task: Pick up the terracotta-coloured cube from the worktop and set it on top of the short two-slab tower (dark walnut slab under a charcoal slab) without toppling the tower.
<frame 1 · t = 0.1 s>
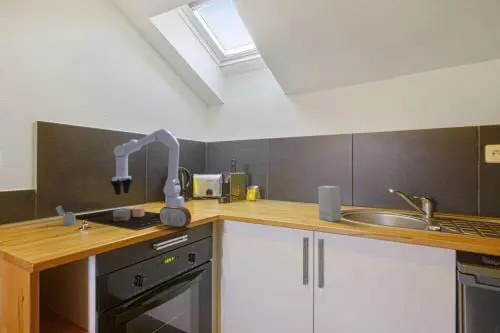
hand: (122, 193, 146), 10 cm above the countertop, tool pointing down, fingers open, 7 cm apart
tin: (174, 227, 113), on the countertop
skincare box: (329, 220, 126), on the countertop
terracotta cube: (138, 216, 136), on the countertop
lighter: (65, 224, 117), on the countertop
walnut slab: (122, 220, 126), on the countertop, touching charcoal slab
charcoal slab: (121, 215, 126), point 2 cm above the countertop, touching walnut slab
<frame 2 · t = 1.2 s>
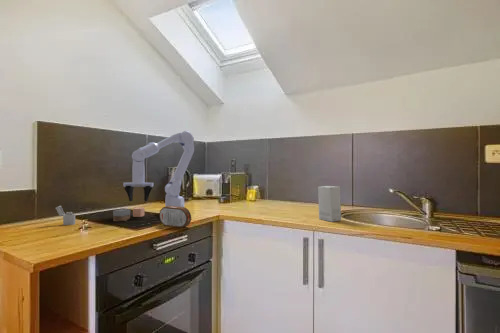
hand: (138, 201, 136), 7 cm above the countertop, tool pointing down, fingers open, 7 cm apart
walnut slab: (121, 220, 126), on the countertop
charcoal slab: (121, 215, 126), point 2 cm above the countertop
everything else where it was.
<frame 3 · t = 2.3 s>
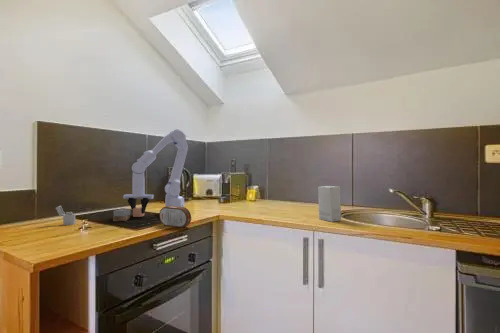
hand: (138, 213, 136), 1 cm above the countertop, tool pointing down, fingers closed on terracotta cube, 4 cm apart
terracotta cube: (138, 215, 136), on the countertop, touching gripper
walnut slab: (121, 220, 126), on the countertop, touching charcoal slab
charcoal slab: (122, 215, 126), point 2 cm above the countertop, touching walnut slab
everything else where it was.
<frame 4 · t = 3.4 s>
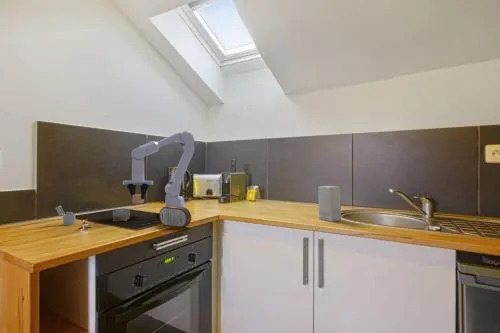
hand: (138, 199, 136), 8 cm above the countertop, tool pointing down, fingers closed on terracotta cube, 4 cm apart
terracotta cube: (138, 202, 136), point 7 cm above the countertop, touching gripper
walnut slab: (121, 220, 126), on the countertop
charcoal slab: (121, 215, 126), point 2 cm above the countertop
everything else where it was.
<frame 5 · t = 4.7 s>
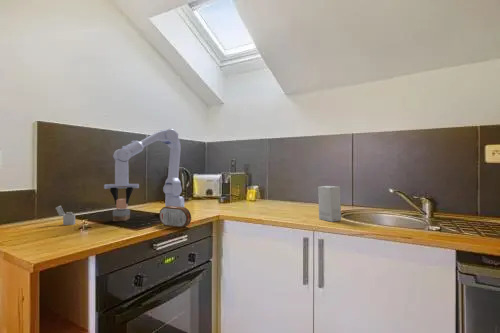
hand: (122, 203, 126), 7 cm above the countertop, tool pointing down, fingers closed on terracotta cube, 4 cm apart
terracotta cube: (122, 208, 126), point 5 cm above the countertop, touching gripper
everything else where it was.
when the fingers open (7 cm above the countertop, at t = 4.8 s): terracotta cube stays where it is, point 5 cm above the countertop.
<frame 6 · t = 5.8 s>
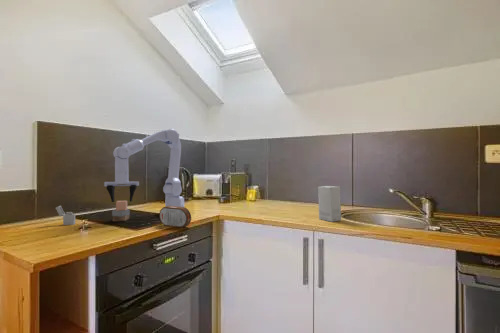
hand: (122, 201, 126), 9 cm above the countertop, tool pointing down, fingers open, 7 cm apart
terracotta cube: (121, 209, 126), point 5 cm above the countertop
walnut slab: (121, 220, 126), on the countertop, touching charcoal slab
charcoal slab: (121, 215, 126), point 2 cm above the countertop, touching walnut slab
everything else where it was.
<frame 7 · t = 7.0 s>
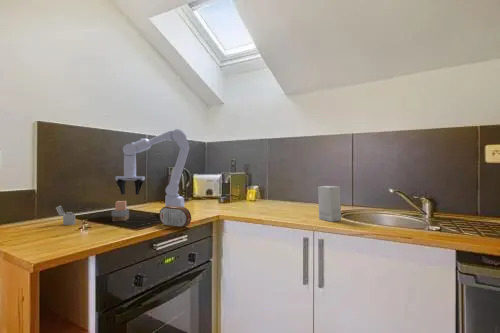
hand: (130, 194, 139), 10 cm above the countertop, tool pointing down, fingers open, 7 cm apart
terracotta cube: (121, 210, 126), point 5 cm above the countertop, touching charcoal slab
charcoal slab: (120, 215, 126), point 2 cm above the countertop, touching terracotta cube, walnut slab
everything else where it was.
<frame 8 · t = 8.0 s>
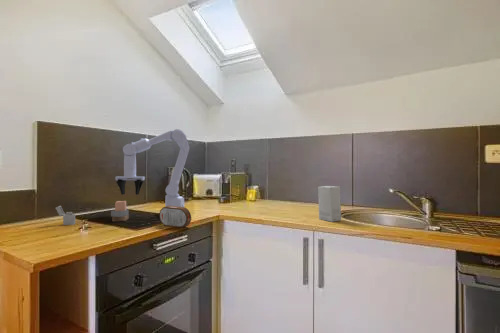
hand: (130, 194, 139), 10 cm above the countertop, tool pointing down, fingers open, 7 cm apart
terracotta cube: (120, 210, 126), point 5 cm above the countertop
walnut slab: (120, 220, 126), on the countertop
charcoal slab: (119, 215, 126), point 2 cm above the countertop
everything else where it was.
at the end: terracotta cube 0.0 cm off-centre on the walnut slab, point 5.0 cm above the walnut slab's base; charcoal slab 0.4 cm off-centre on the walnut slab, point 2.5 cm above the walnut slab's base; terracotta cube tilted 0° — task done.
